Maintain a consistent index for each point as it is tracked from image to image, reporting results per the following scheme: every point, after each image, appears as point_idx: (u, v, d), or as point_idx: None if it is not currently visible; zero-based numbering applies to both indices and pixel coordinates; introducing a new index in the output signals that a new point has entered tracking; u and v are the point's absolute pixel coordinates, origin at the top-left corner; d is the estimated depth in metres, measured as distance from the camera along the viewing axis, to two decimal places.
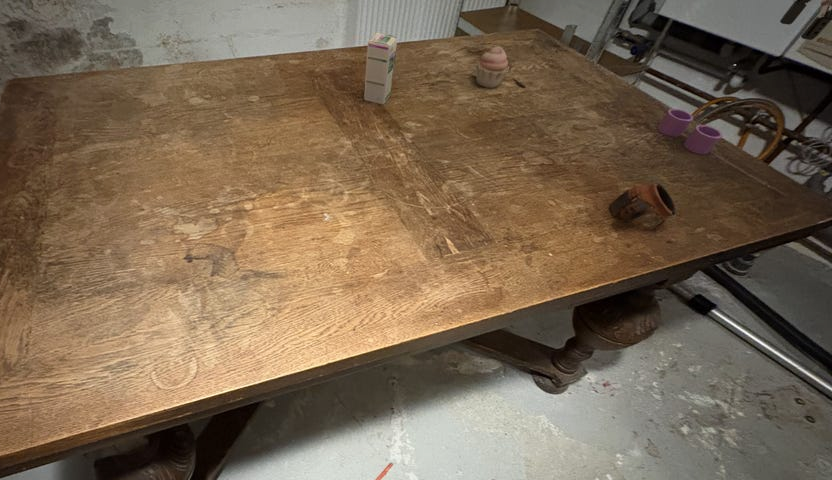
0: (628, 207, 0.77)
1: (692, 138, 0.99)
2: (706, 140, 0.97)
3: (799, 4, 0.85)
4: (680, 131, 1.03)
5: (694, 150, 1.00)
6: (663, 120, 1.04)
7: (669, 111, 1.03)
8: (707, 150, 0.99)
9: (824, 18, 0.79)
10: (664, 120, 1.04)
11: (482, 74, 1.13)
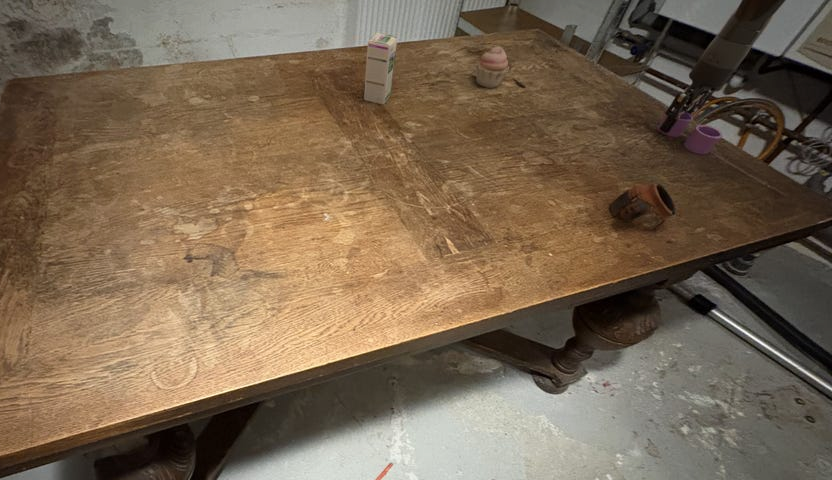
0: (628, 207, 0.77)
1: (692, 138, 0.99)
2: (706, 140, 0.97)
3: None
4: (680, 131, 1.03)
5: (694, 150, 1.00)
6: (663, 120, 1.04)
7: None
8: (707, 150, 0.99)
9: (668, 116, 1.01)
10: (664, 120, 1.04)
11: (482, 74, 1.13)
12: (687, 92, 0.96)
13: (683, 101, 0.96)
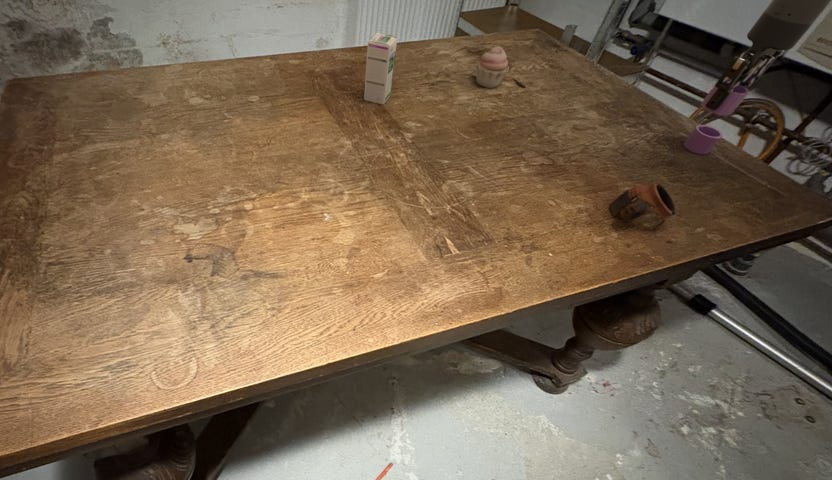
0: (628, 207, 0.77)
1: (692, 138, 0.99)
2: (706, 140, 0.97)
3: None
4: (732, 108, 0.83)
5: (694, 150, 1.00)
6: (710, 95, 0.84)
7: None
8: (707, 150, 0.99)
9: (719, 89, 0.81)
10: (711, 95, 0.84)
11: (482, 74, 1.13)
12: (746, 56, 0.75)
13: (741, 68, 0.76)
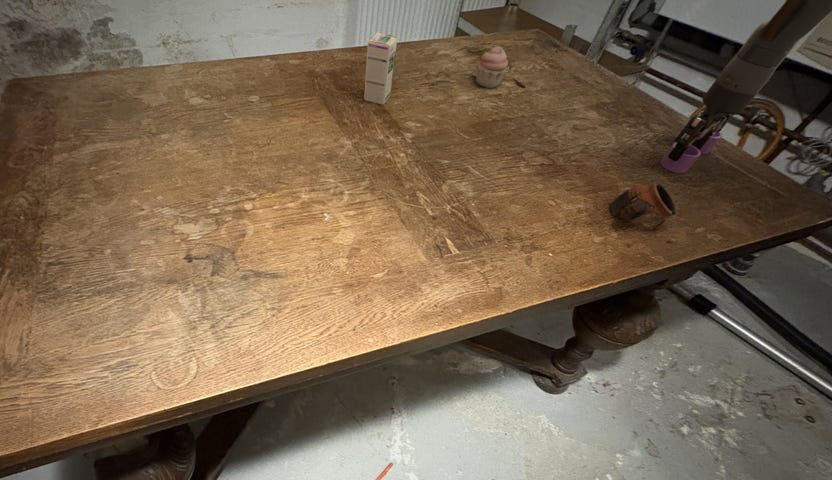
0: (628, 207, 0.77)
1: None
2: None
3: None
4: (686, 167, 0.93)
5: None
6: (667, 155, 0.94)
7: (674, 145, 0.93)
8: (707, 150, 0.99)
9: None
10: None
11: (482, 74, 1.13)
12: (702, 117, 0.84)
13: (698, 126, 0.83)
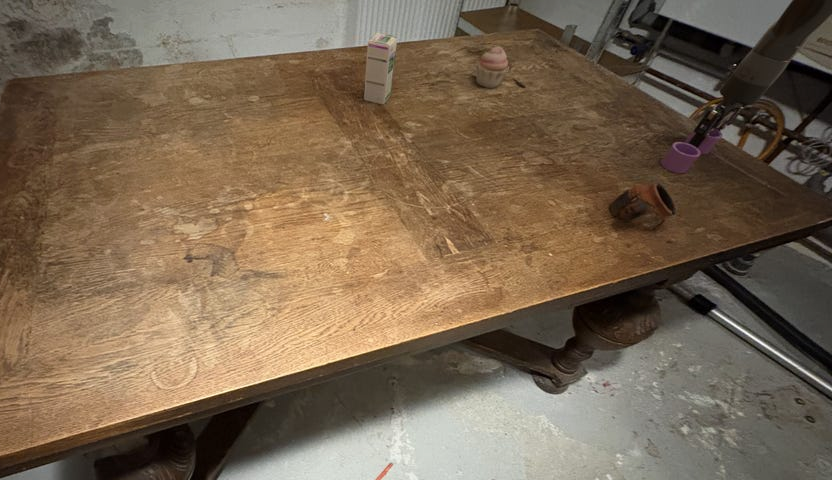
0: (628, 207, 0.77)
1: None
2: (706, 140, 0.97)
3: None
4: (686, 167, 0.93)
5: None
6: (667, 155, 0.94)
7: (674, 145, 0.93)
8: (707, 150, 0.99)
9: (697, 133, 0.97)
10: (668, 155, 0.94)
11: (482, 74, 1.13)
12: (718, 109, 0.91)
13: (714, 118, 0.91)
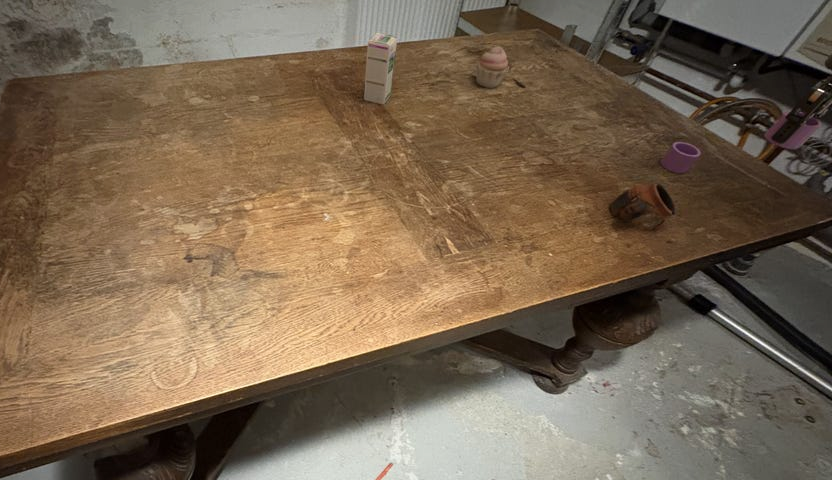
0: (628, 207, 0.77)
1: None
2: (800, 130, 0.74)
3: None
4: (686, 167, 0.93)
5: (781, 144, 0.76)
6: (667, 155, 0.94)
7: (674, 145, 0.93)
8: (799, 144, 0.75)
9: (789, 121, 0.73)
10: (668, 155, 0.94)
11: (482, 74, 1.13)
12: (825, 87, 0.68)
13: (819, 100, 0.68)
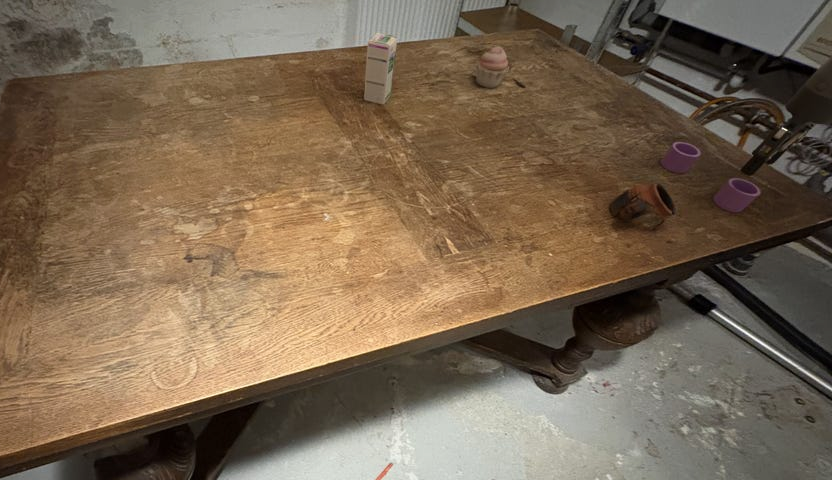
0: (628, 207, 0.77)
1: (724, 194, 0.86)
2: (741, 198, 0.83)
3: None
4: (686, 167, 0.93)
5: (726, 207, 0.86)
6: (667, 155, 0.94)
7: (674, 145, 0.93)
8: (742, 208, 0.85)
9: (755, 156, 0.79)
10: (668, 155, 0.94)
11: (482, 74, 1.13)
12: (787, 127, 0.74)
13: (783, 137, 0.73)
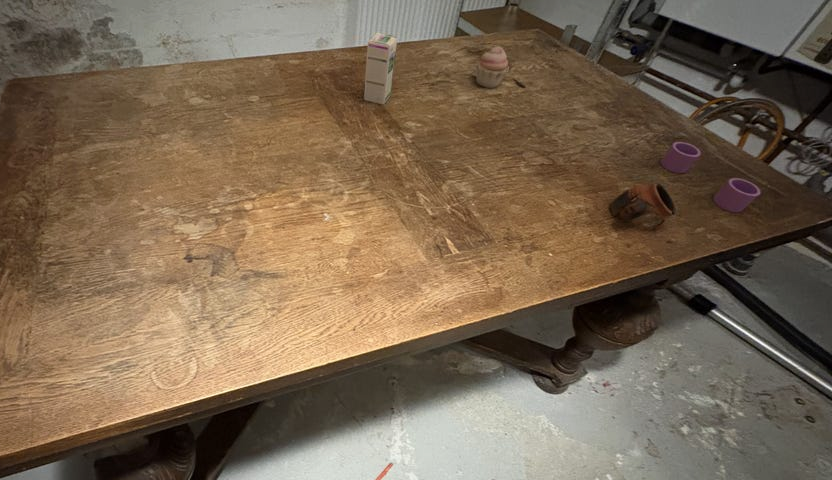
0: (628, 207, 0.77)
1: (724, 194, 0.86)
2: (741, 198, 0.83)
3: None
4: (686, 167, 0.93)
5: (726, 207, 0.86)
6: (667, 155, 0.94)
7: (674, 145, 0.93)
8: (742, 208, 0.85)
9: None
10: (668, 155, 0.94)
11: (482, 74, 1.13)
12: None
13: None
